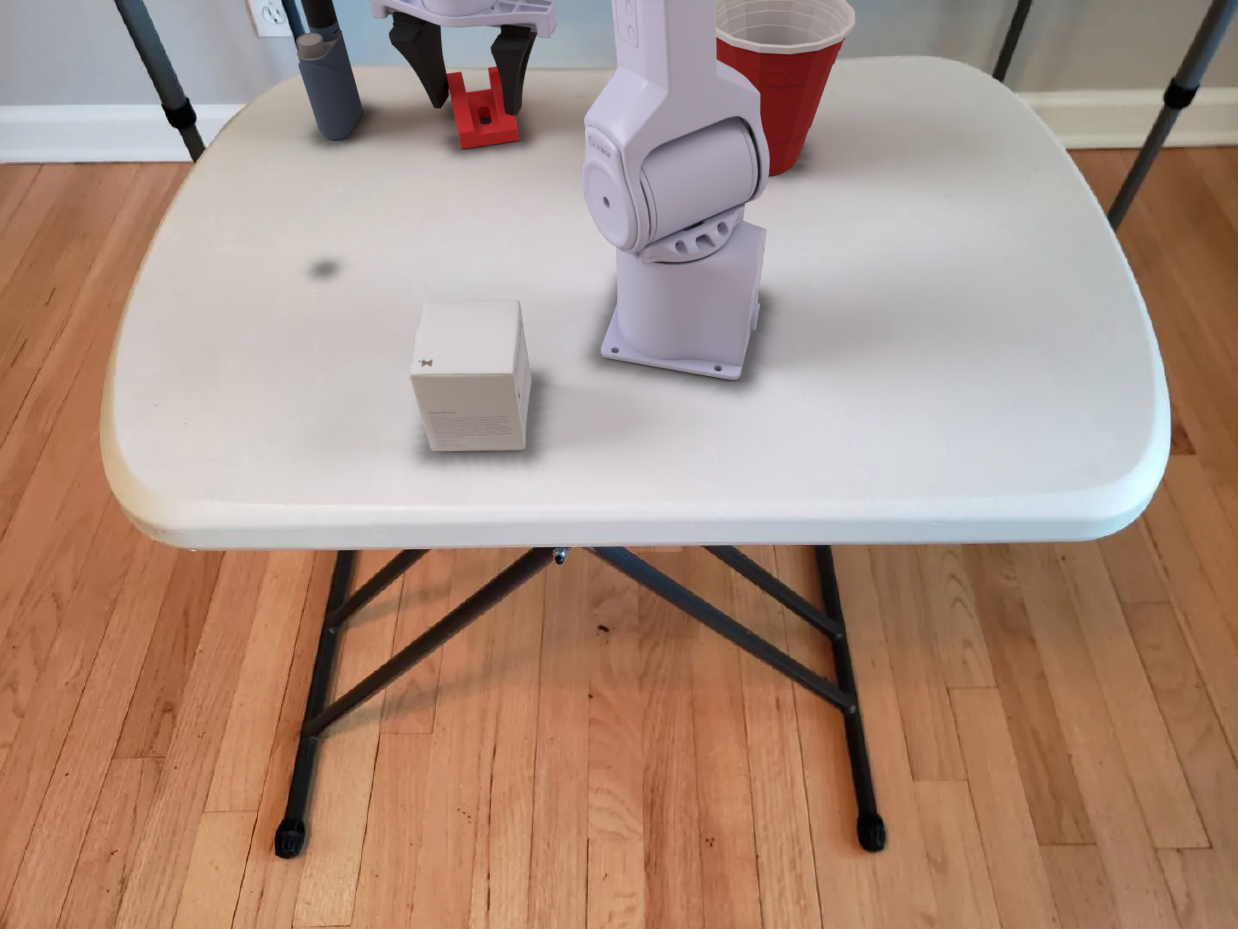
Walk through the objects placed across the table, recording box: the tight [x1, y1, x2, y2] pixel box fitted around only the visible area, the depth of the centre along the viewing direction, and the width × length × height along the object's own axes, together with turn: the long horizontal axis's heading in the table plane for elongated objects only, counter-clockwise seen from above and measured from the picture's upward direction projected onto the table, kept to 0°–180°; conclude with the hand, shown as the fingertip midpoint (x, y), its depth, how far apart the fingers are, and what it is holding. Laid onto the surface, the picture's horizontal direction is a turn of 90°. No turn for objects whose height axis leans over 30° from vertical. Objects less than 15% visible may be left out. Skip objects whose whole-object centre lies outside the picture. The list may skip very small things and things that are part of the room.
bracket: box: [446, 65, 520, 150], centre depth 76 cm, size 6×5×3 cm
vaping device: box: [295, 0, 364, 141], centre depth 73 cm, size 3×5×12 cm, turn 167°
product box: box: [408, 299, 533, 452], centre depth 56 cm, size 6×6×7 cm
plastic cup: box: [716, 0, 856, 177], centre depth 70 cm, size 11×11×12 cm
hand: (478, 106), depth 77 cm, fingers closed on bracket, 6 cm apart
